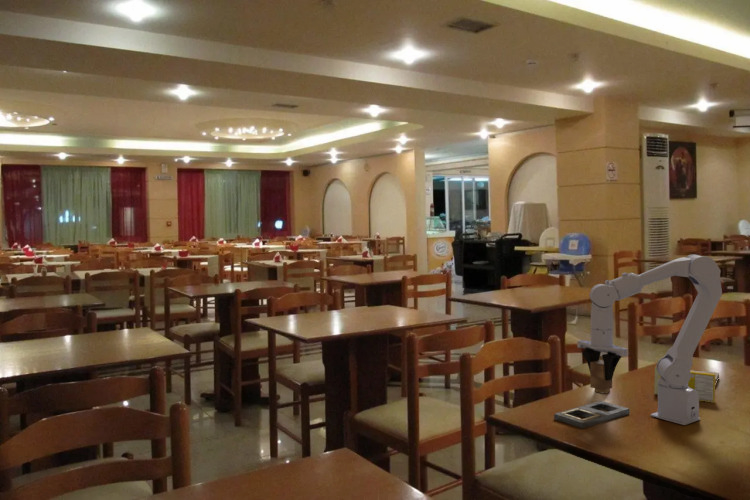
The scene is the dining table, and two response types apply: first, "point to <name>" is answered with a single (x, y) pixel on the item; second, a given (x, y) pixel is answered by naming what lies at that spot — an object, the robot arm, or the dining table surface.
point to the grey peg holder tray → (591, 414)
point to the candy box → (697, 385)
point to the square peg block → (599, 376)
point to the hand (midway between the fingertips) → (601, 377)
